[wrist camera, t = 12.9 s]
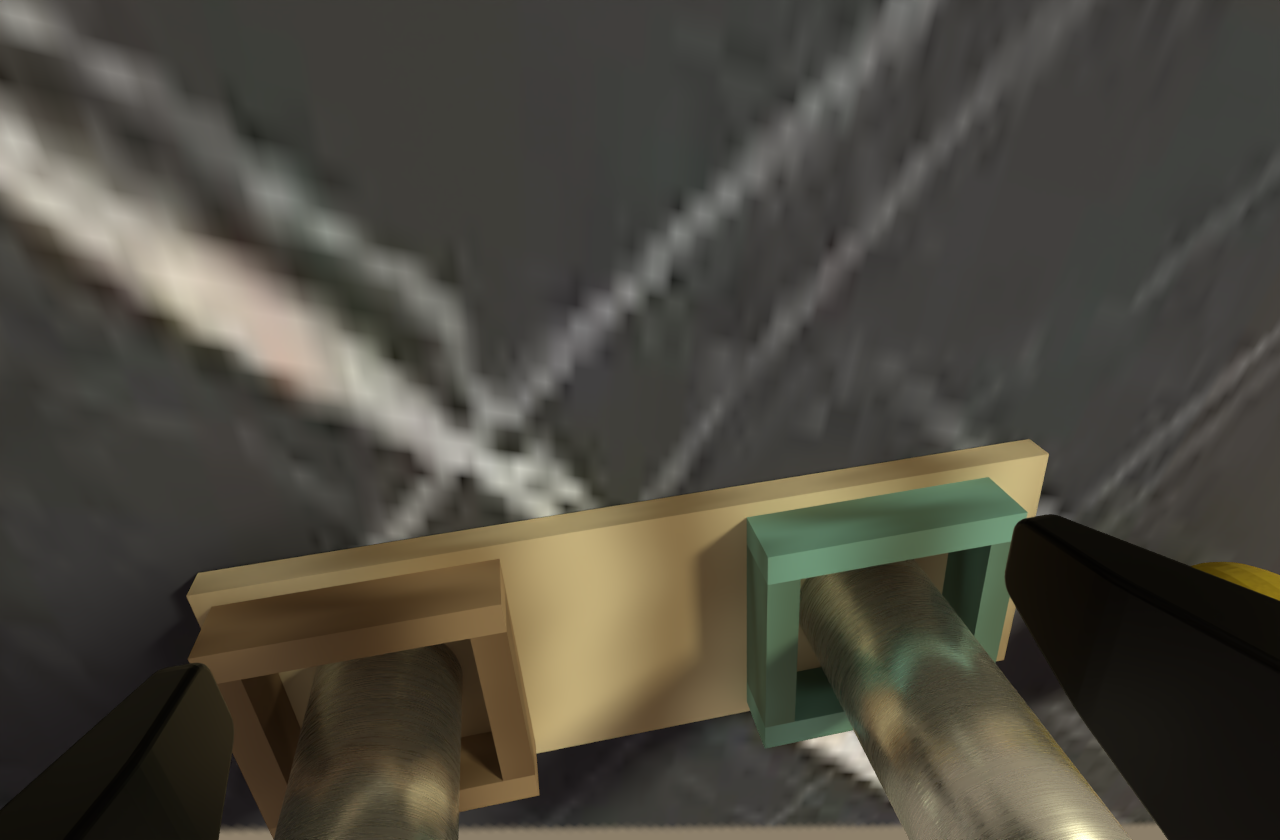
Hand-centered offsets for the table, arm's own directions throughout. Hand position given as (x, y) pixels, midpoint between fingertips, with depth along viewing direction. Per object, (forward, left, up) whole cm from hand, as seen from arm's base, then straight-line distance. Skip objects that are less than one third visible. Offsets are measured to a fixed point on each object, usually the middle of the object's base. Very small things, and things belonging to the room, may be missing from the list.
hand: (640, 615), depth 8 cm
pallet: (+2, -12, -13) cm, 18 cm away
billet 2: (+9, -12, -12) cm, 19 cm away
